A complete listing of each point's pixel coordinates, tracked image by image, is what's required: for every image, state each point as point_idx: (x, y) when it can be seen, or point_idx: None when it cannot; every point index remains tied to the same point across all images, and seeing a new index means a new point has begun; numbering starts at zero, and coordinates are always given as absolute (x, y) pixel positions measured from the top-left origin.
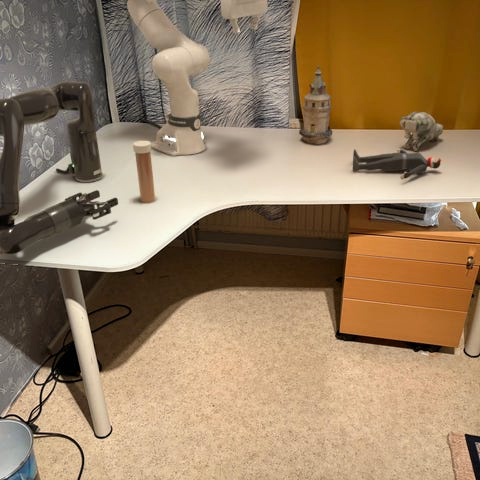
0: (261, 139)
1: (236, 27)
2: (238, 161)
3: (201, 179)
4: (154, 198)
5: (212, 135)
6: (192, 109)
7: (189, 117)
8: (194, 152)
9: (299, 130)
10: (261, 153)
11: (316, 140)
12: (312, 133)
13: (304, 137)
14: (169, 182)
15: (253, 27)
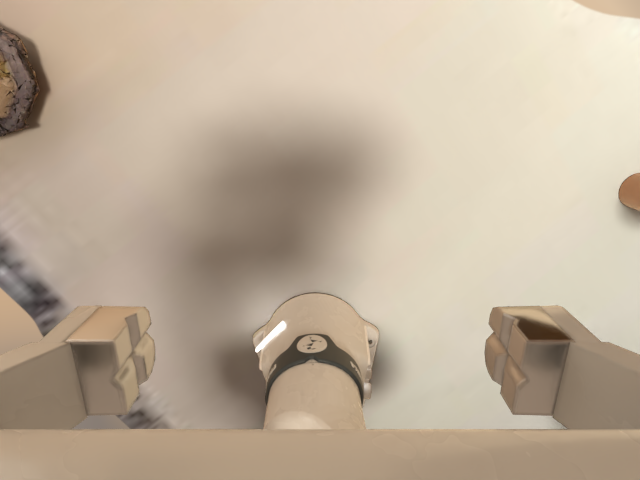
0: (121, 226)
1: (606, 350)
2: (305, 169)
3: (467, 168)
4: (637, 175)
5: (194, 350)
6: (326, 379)
7: (336, 367)
8: (335, 298)
9: (19, 128)
10: (212, 154)
11: (21, 48)
12: (7, 70)
13: (37, 94)
14: (523, 221)
15: (141, 335)
